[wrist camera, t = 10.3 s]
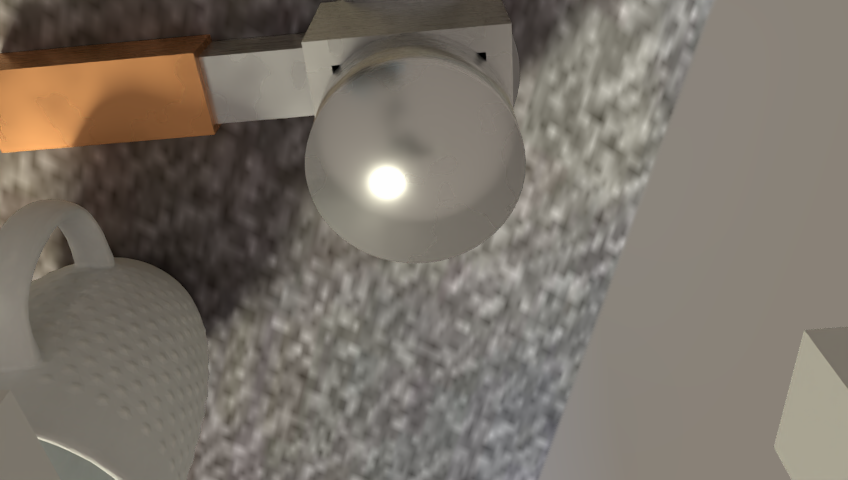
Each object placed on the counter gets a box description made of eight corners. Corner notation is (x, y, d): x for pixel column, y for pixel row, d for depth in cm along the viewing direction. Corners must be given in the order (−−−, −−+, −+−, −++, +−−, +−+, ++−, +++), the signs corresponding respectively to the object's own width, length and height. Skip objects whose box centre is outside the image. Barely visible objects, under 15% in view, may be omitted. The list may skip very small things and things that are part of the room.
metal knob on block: (320, 3, 25) (285, 74, 19) (495, -13, 25) (524, 53, 18) (346, 161, 29) (324, 270, 22) (500, 148, 28) (526, 255, 22)
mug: (-29, 142, 31) (-273, 324, 20) (215, 148, 32) (106, 331, 21) (54, 384, 39) (-90, 611, 28) (249, 387, 40) (183, 614, 28)
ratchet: (-23, -3, 28) (-121, 39, 23) (508, -54, 27) (530, -22, 22) (50, 174, 32) (-19, 242, 27) (512, 135, 31) (531, 198, 26)
